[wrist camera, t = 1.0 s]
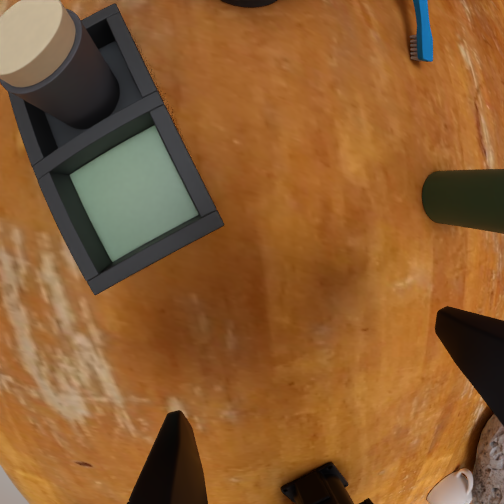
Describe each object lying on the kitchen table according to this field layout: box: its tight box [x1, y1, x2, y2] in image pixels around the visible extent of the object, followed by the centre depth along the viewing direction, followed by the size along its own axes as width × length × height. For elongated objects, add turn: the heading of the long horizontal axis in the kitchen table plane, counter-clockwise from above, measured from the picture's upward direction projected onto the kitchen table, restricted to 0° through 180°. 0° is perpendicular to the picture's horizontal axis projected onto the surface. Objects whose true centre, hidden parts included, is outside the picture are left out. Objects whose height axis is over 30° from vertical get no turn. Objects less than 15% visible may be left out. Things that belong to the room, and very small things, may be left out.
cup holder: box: [8, 4, 224, 295], centre depth 18 cm, size 17×9×4 cm, turn 26°
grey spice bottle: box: [0, 0, 120, 129], centre depth 13 cm, size 5×5×11 cm
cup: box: [427, 468, 473, 504], centre depth 33 cm, size 8×10×7 cm
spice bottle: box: [422, 169, 504, 234], centre depth 19 cm, size 5×5×12 cm
